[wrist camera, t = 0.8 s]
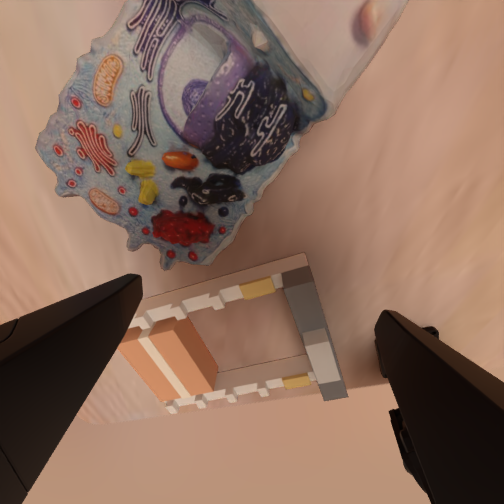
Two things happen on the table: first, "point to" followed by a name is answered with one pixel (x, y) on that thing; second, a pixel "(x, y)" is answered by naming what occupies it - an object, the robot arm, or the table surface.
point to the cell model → (203, 110)
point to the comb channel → (250, 286)
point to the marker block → (170, 358)
